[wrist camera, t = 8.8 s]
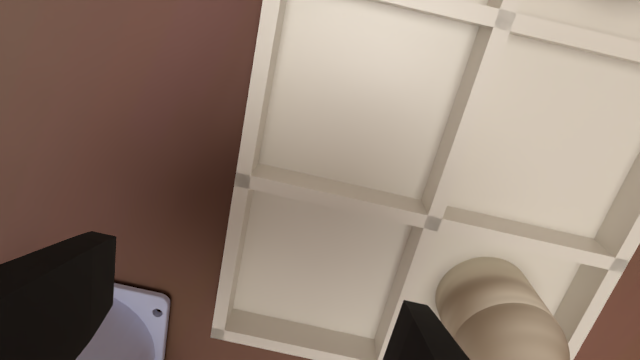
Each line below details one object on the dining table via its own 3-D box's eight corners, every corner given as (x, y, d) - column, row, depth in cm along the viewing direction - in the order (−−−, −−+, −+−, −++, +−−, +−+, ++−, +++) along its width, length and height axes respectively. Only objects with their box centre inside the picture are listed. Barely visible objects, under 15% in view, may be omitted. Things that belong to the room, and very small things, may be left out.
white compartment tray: (526, 373, 22) (545, 409, 20) (222, 308, 22) (210, 337, 20) (820, -188, 14) (904, -225, 12) (325, -314, 13) (321, -375, 11)
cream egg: (508, 341, 21) (563, 446, 16) (423, 323, 21) (450, 423, 16) (543, 267, 19) (616, 358, 14) (452, 247, 19) (491, 331, 14)
